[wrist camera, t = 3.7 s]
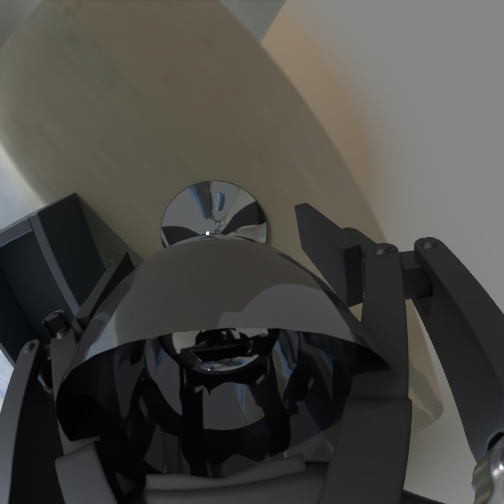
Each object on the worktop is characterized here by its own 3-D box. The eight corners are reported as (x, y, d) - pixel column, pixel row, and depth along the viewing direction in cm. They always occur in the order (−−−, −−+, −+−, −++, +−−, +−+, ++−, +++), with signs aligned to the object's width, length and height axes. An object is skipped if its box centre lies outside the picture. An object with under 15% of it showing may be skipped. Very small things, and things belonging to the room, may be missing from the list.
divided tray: (75, 192, 16) (37, 212, 11) (180, 400, 25) (178, 441, 20) (-13, 238, 16) (-47, 262, 11) (94, 408, 24) (84, 443, 20)
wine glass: (190, 151, 16) (94, 217, 3) (295, 212, 19) (449, 376, 5) (137, 256, 18) (52, 457, 5) (235, 302, 21) (273, 503, 7)
